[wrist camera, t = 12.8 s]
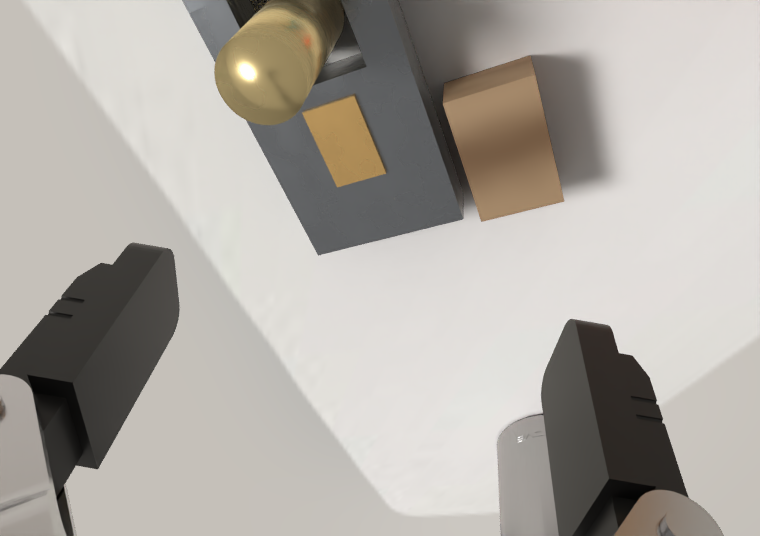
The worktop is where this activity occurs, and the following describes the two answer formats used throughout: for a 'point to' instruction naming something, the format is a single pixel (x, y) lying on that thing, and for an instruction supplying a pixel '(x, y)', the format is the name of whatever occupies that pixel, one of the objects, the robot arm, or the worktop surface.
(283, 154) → the flange plate
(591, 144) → the worktop surface
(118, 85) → the worktop surface
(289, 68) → the brass peg
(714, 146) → the worktop surface
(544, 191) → the brown rectangular block
